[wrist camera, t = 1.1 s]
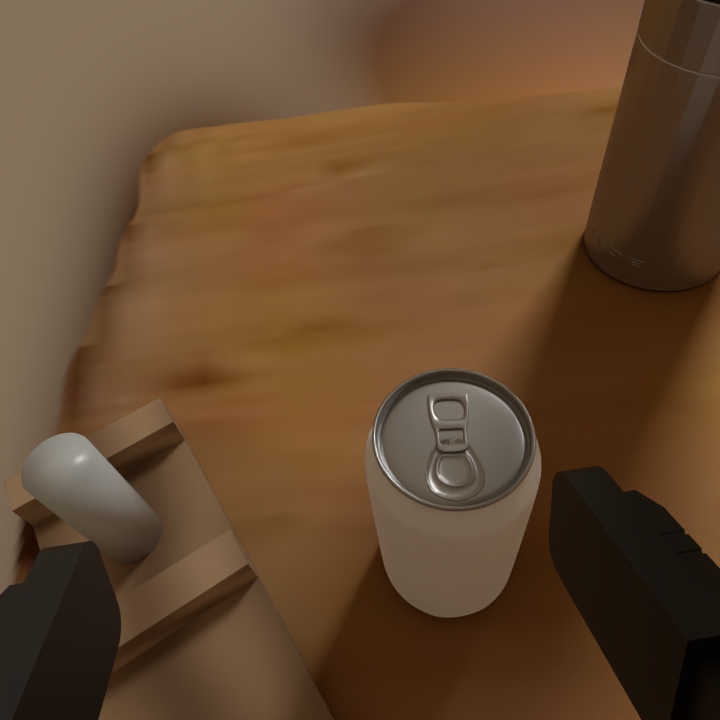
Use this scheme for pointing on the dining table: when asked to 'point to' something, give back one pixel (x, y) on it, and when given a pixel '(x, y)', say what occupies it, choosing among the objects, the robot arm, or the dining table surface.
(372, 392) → the dining table surface
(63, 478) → the grey peg
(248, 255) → the dining table surface
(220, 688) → the rail
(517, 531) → the can
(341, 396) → the dining table surface
